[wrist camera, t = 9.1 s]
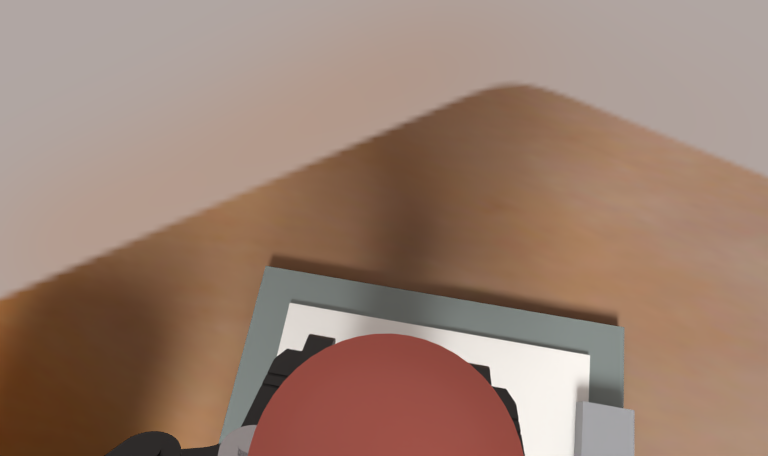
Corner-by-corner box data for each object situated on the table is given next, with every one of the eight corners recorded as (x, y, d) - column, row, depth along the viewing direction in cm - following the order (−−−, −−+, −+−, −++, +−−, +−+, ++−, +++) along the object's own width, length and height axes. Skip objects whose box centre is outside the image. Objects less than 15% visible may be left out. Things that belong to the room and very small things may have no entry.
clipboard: (618, 330, 24) (634, 323, 22) (613, 688, 19) (633, 710, 17) (268, 269, 24) (261, 259, 23) (181, 599, 20) (165, 612, 18)
